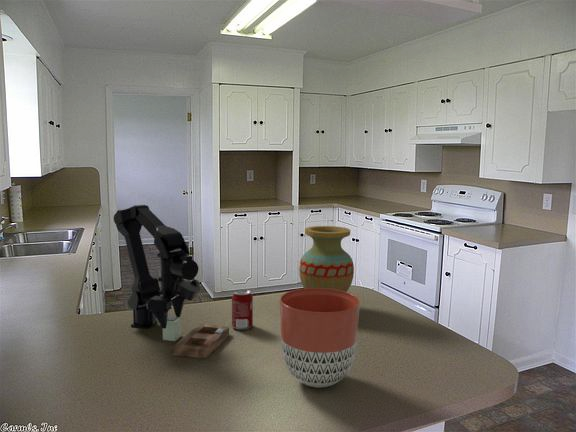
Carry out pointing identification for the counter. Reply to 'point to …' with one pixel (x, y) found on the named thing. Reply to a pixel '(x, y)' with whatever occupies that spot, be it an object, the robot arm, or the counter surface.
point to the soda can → (242, 309)
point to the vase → (326, 260)
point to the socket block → (201, 341)
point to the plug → (172, 329)
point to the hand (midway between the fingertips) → (171, 322)
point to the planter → (319, 334)
